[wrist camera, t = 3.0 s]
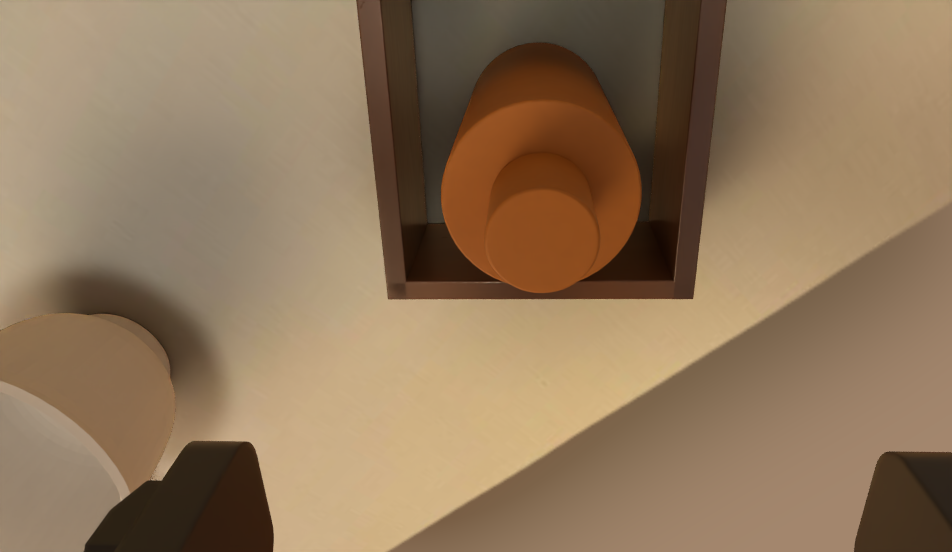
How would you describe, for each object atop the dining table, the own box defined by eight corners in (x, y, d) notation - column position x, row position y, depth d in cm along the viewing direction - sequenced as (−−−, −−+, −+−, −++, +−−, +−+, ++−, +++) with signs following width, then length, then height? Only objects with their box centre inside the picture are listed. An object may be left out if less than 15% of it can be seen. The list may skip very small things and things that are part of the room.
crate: (690, -46, 26) (732, -42, 21) (665, 237, 31) (693, 299, 26) (388, -34, 27) (353, -26, 22) (411, 239, 32) (387, 299, 27)
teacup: (58, 485, 41) (-75, 640, 32) (-30, 256, 34) (-229, 369, 25) (257, 491, 40) (178, 652, 31) (205, 256, 33) (86, 374, 24)
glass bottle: (606, 40, 28) (670, 124, 15) (600, 174, 30) (651, 343, 18) (467, 44, 28) (417, 129, 16) (473, 176, 31) (433, 342, 18)
